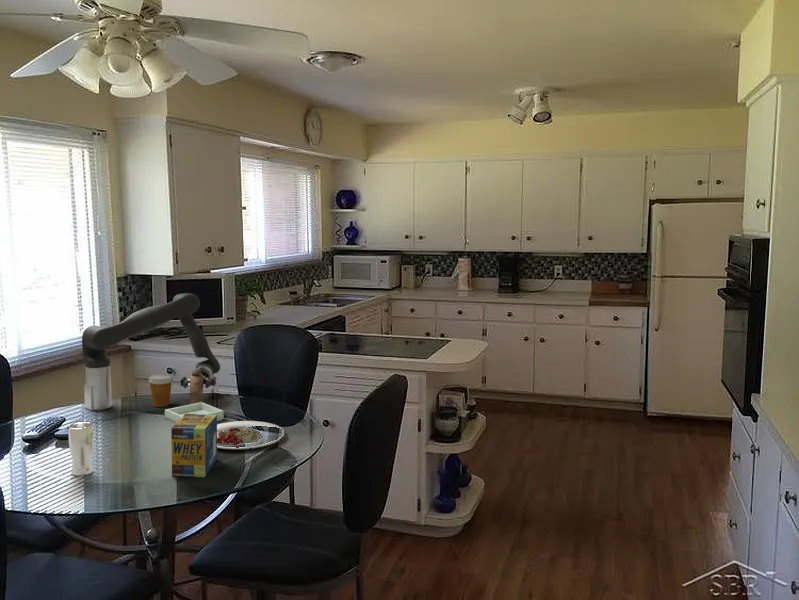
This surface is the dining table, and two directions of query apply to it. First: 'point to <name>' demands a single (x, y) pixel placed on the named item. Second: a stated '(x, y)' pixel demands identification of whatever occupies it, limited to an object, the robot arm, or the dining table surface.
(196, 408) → the bin
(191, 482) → the dining table surface
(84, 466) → the beer glass
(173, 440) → the protein box
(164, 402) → the disposable coffee cup
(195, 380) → the pepper mill
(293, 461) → the dining table surface
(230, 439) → the plated food
